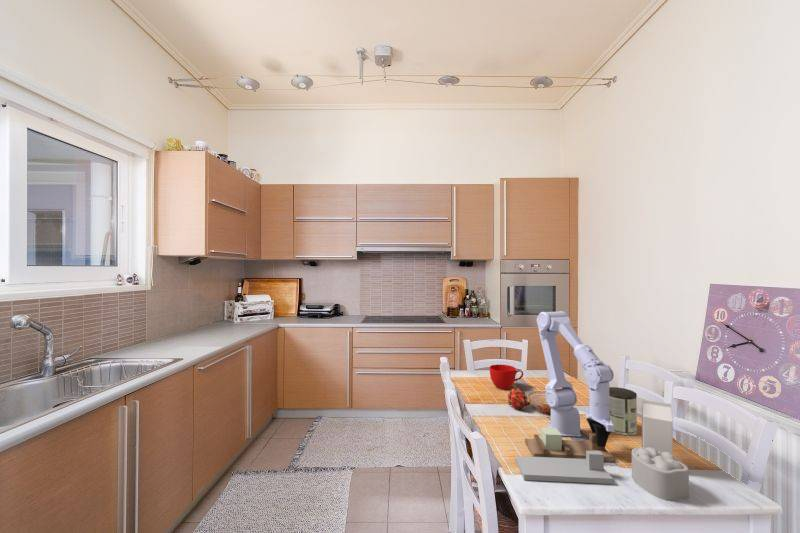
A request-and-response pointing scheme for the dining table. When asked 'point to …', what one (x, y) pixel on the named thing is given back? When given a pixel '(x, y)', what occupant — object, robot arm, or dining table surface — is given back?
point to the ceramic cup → (503, 375)
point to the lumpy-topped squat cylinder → (660, 474)
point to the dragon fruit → (517, 399)
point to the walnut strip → (567, 448)
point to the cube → (551, 438)
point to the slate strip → (565, 469)
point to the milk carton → (657, 426)
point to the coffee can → (623, 410)
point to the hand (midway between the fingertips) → (599, 444)
